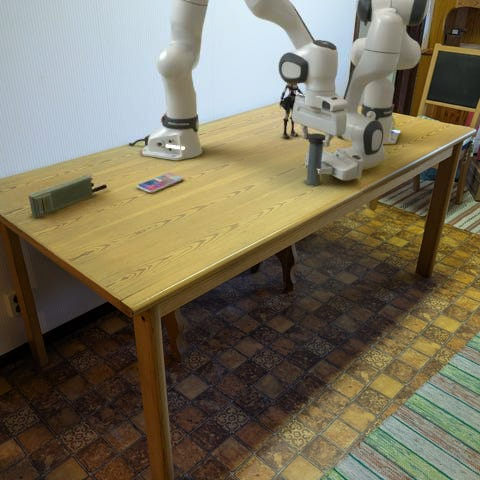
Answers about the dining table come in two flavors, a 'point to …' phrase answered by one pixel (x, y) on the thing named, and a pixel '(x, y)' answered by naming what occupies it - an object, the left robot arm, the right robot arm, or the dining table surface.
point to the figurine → (289, 106)
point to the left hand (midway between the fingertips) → (315, 142)
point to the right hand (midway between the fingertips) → (312, 168)
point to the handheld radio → (62, 195)
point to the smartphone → (159, 182)
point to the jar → (314, 163)
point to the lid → (316, 138)
